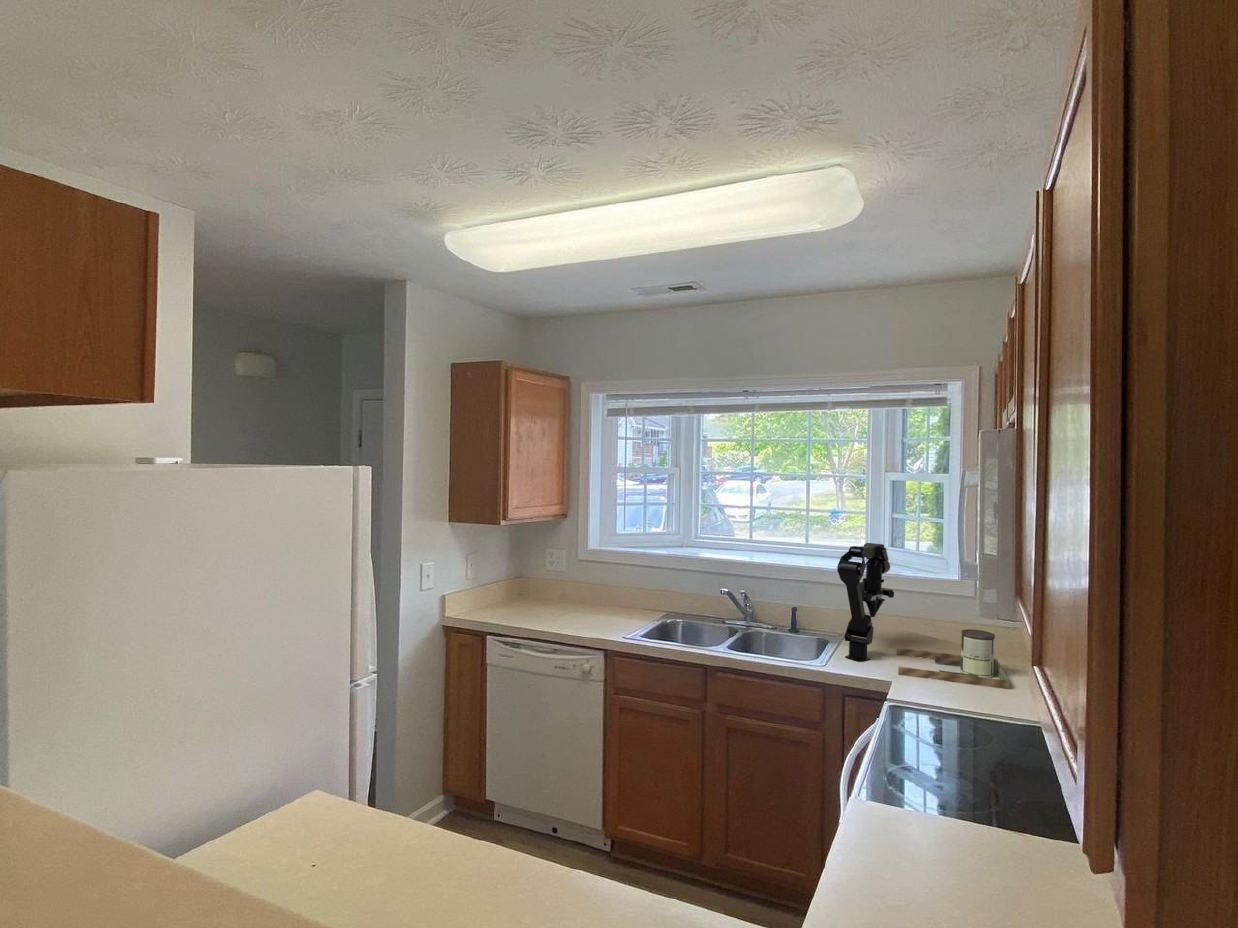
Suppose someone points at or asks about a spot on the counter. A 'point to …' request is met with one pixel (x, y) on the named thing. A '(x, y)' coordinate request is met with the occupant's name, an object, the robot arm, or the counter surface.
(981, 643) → the coffee can
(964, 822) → the counter surface
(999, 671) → the brown wooden frame
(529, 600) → the counter surface
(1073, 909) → the counter surface
